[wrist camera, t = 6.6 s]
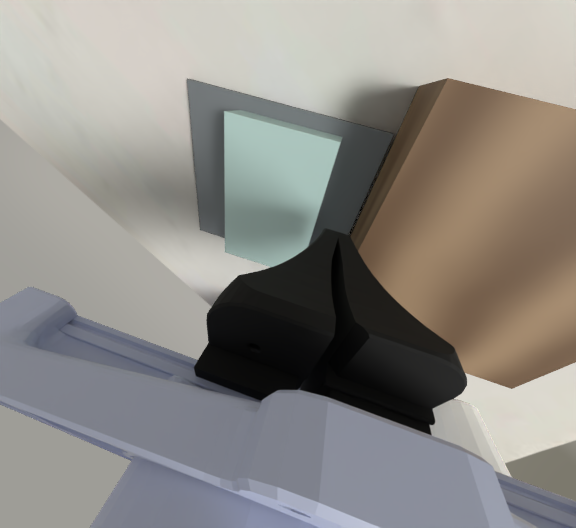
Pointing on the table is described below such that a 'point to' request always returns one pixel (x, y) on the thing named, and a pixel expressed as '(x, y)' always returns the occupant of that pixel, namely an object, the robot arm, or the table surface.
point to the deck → (481, 227)
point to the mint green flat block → (273, 185)
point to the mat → (355, 138)
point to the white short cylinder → (466, 431)
